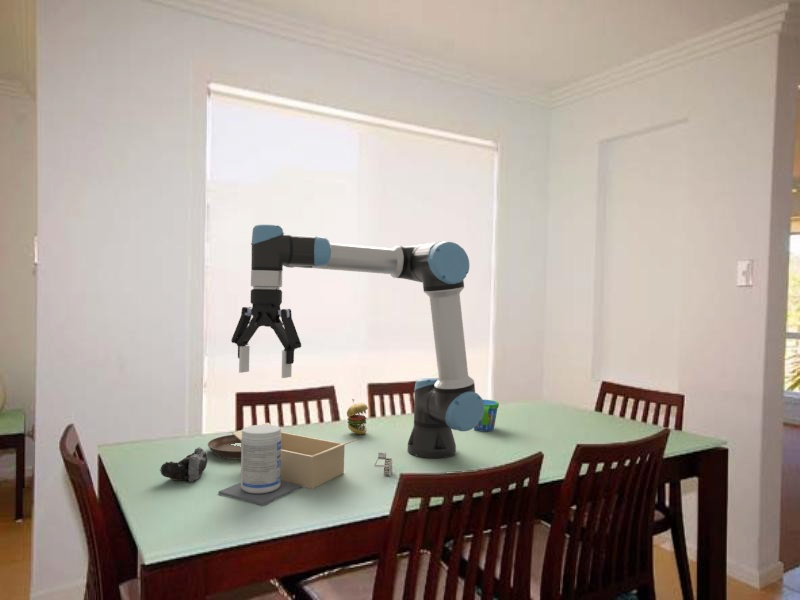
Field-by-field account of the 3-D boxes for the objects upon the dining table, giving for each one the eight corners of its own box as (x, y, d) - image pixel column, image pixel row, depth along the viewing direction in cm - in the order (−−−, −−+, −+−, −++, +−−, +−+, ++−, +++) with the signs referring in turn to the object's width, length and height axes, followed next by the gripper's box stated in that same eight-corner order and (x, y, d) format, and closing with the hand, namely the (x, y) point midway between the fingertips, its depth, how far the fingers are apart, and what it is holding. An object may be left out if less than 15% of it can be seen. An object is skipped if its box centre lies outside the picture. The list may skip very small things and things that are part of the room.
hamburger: (362, 437, 190) (363, 402, 190) (342, 434, 193) (343, 400, 192) (370, 432, 198) (371, 398, 197) (351, 429, 200) (352, 396, 200)
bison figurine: (208, 469, 154) (170, 468, 152) (210, 444, 153) (171, 443, 152) (200, 485, 142) (158, 485, 140) (202, 458, 142) (159, 457, 140)
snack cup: (470, 423, 214) (471, 396, 214) (498, 425, 212) (499, 398, 212) (467, 433, 199) (468, 405, 199) (497, 436, 197) (498, 407, 197)
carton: (356, 475, 151) (357, 438, 151) (325, 491, 139) (326, 451, 139) (267, 456, 166) (267, 422, 166) (231, 469, 154) (232, 432, 154)
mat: (301, 487, 141) (301, 485, 141) (262, 505, 129) (262, 503, 129) (259, 477, 148) (259, 475, 148) (218, 493, 136) (218, 491, 136)
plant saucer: (221, 441, 181) (221, 431, 181) (285, 443, 181) (285, 433, 181) (196, 461, 161) (196, 449, 161) (268, 464, 160) (268, 452, 160)
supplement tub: (286, 490, 137) (287, 430, 137) (248, 497, 132) (249, 435, 132) (271, 478, 145) (273, 422, 145) (235, 485, 140) (236, 426, 140)
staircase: (377, 472, 156) (378, 452, 156) (392, 473, 156) (392, 453, 156) (374, 480, 150) (374, 459, 150) (389, 480, 149) (389, 460, 149)
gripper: (317, 289, 135) (315, 377, 136) (239, 287, 147) (238, 368, 148) (297, 289, 129) (295, 381, 129) (217, 287, 140) (216, 371, 141)
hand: (264, 374), depth 138 cm, fingers open, 13 cm apart
